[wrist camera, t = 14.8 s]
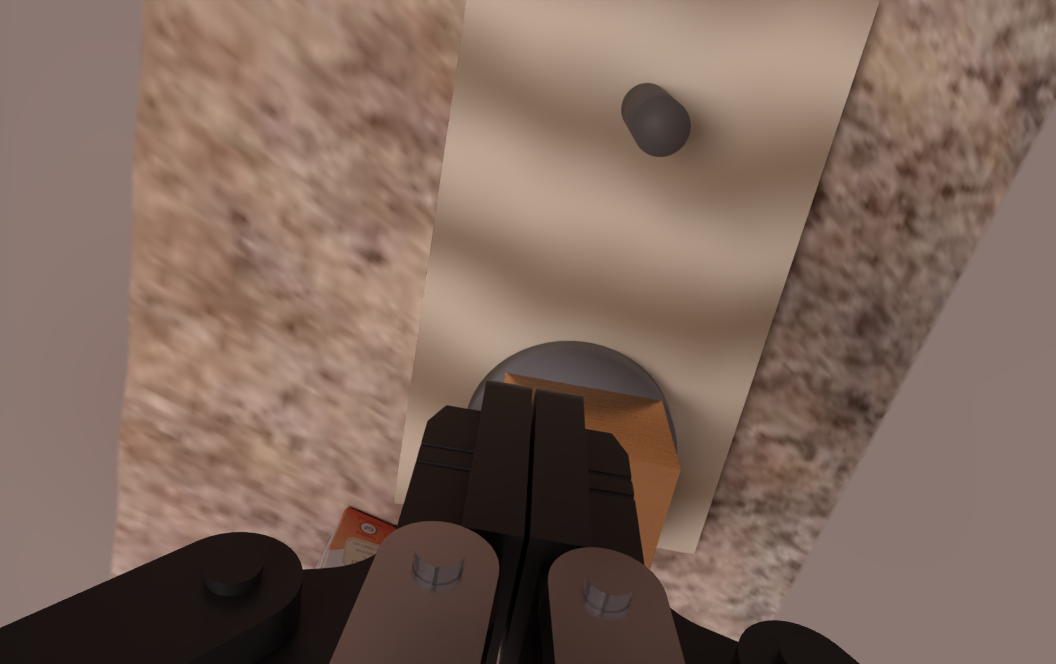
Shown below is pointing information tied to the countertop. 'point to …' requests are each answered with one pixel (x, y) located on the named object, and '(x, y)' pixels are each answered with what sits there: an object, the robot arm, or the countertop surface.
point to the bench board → (628, 206)
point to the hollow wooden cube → (631, 448)
